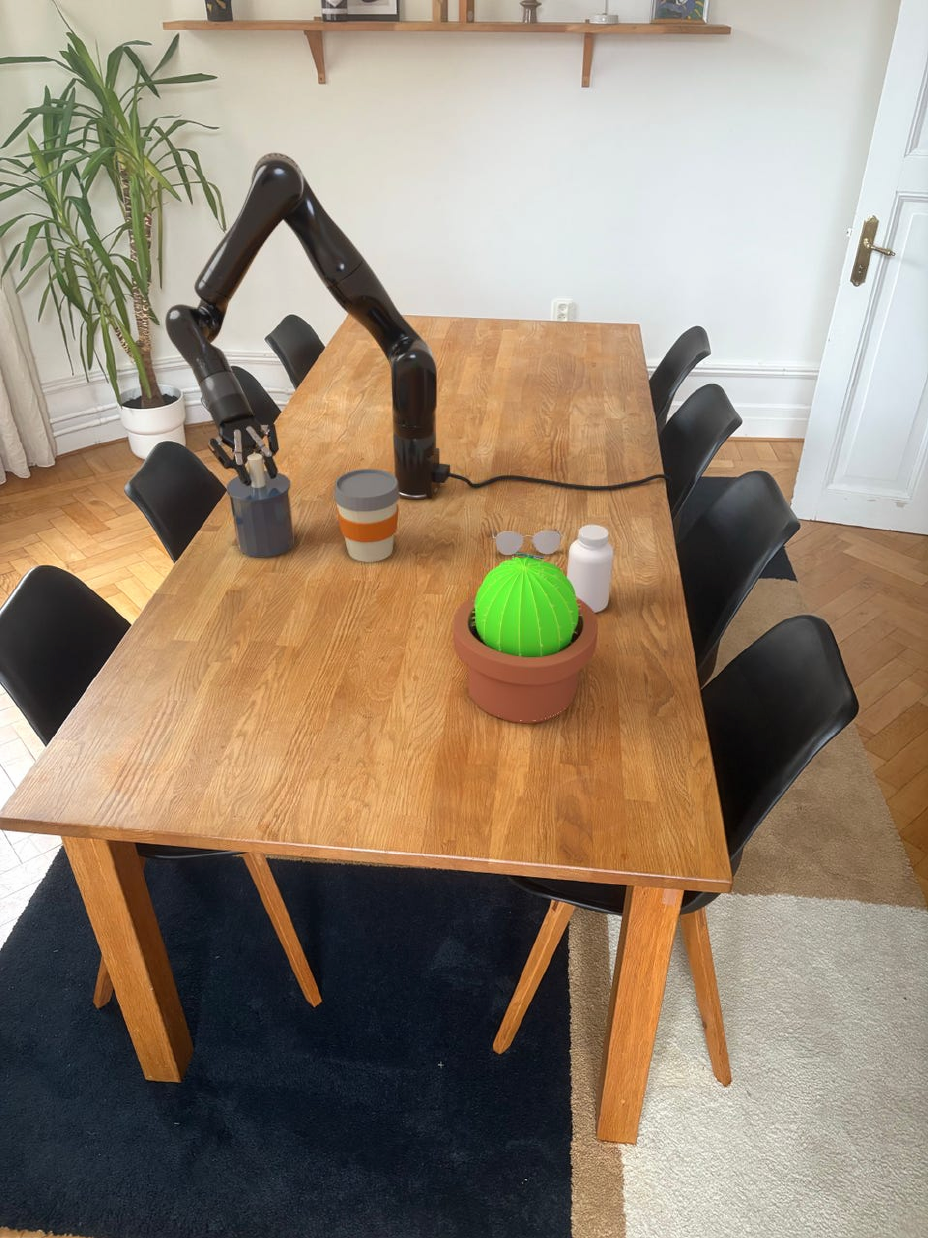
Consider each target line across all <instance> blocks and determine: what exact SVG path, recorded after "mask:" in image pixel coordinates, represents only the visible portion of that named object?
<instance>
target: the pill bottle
mask: <svg viewBox="0 0 928 1238" xmlns="http://www.w3.org/2000/svg"><path fill="white" fill-rule="evenodd" d="M609 538H610V533H609V530H608V529H607V528H606V527H604V526H602V525H598V524H586V525H583V526H582V527H580V528H579V530H578V536H577V539H576V540H574V541H573V542H572V543H571V545H570V547H569V550H568V558H567V559H568V560H567V573H566V577H567V578H568V579H569V581H570V580H571V581H570V582H571V584H572V586H573V588H574V590H575V589H576V590H575V594H576V597H577V598H579V599H581V600H582V601H583V602H585V603H586V604H587V605H588V606H589V607H590V608H591V609H592V610H593V612H594V613H595V614H596V613H599V612H602V611H603V610H605V609H606V608H607V606H608V604H609V600H610V592H611V584H612V574H613V566H614V557H615V556H614V555H615V552H614V548H613V546H612V545H611V544H610V543H609ZM572 579H573V580H574V581H573V580H572ZM572 582H573V583H572Z"/></svg>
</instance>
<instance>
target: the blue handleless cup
mask: <svg viewBox="0 0 928 1238" xmlns="http://www.w3.org/2000/svg"><path fill="white" fill-rule="evenodd" d="M229 500H230V505H231V513H232V519H233V524H234V525H233V526H234V531H235V539H236V544H237V547H238V549H239V551H240V553H242V554H243V555H245V556H248V557H251V558H259V559H263V558H264V559H265V558H272V557H277V556H280V555H283V554H285V553H287V552H288V551H290V550H291V549H292V548H293V547H294V545H295V531H294V522H293V515H292V514H293V513H292V505H291V495H290V490H289V491H288V492H287V493H286V494H284V495H283V496H281V497H279V498H276V499H273V500H270V501H265V502H243V501H239V500H236V499H234V498H232V497H230V496H229Z"/></svg>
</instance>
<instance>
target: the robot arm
mask: <svg viewBox="0 0 928 1238" xmlns="http://www.w3.org/2000/svg"><path fill="white" fill-rule="evenodd" d="M250 182H251V183H250V187H249V189H248V192H247V194H246V197H245V200H244V203H243V204H242V207H241V209H240V211H239V212H238V215H237V217H236V219H235V221H234V222H233V224H232V226H231V227H230V228H229V230H228V231H227V233H226V234H225V236H223V238H222V239H221V240H220V242H219V243H218V244H217V246H216V248H215V249H214V250H213V251H212V253H211V255H210V256H209V258H208V260H207V261H206V263H205V265H204V266H203V268H202V270H201V271H200V273H199V275H198V277H197V278H196V280H195V283H194V285H193V286H194V287H193V289H194V292H195V294H196V295H197V296H198V298H200V300H199V304H198V305H197V307H196V306H193V305H192V306H191V305H188V304H183V303H182V304H181V303H180V304H175V305H173V306H171V307H170V308H169V309H168V310H167V312H166V314H165V317H164V318H165V319H164V324H165V331H166V334H167V335H168V337H169V340H170V341H171V343H172V344H173V346H174V347H175V349H176V350H177V352H178V353H179V354H180V355H181V357H182V359H184V361H185V362H186V363H187V364H188V366H189V367H190V368H191V370H192V373H193V375H194V377H195V380H196V382H197V384H198V386H199V389H200V392H201V395H202V398H203V401H204V404H205V407H206V408H207V410H208V412H209V414H210V417H211V419H212V420H213V421H212V422H213V423H214V425H215V428H216V430H217V431H218V436H217V437H215V438H214V437H212V438H210V439H209V441H208V444H207V448H208V449H209V451H210V453H212V455H213V456H214V457H215V459H216V460H217V461H218V463H220V465H221V466H222V467H223V469H225V470H229V469H232V470H235V471H236V474H237V476H239V478H240V481H241V482H242V484H245V485H246V486H250V485H251V483H252V480H251V478H250V476H249V470H248V469H247V467H246V465H245V464H243V452H244V451H246V450H252V451H254V454H261V455H262V458H263V466H264V468H266V471H268V474H269V476H270V478H271V479H274V478H275V477H276V476H277V473H279V468H278V467H277V464H276V462H275V460H274V458H273V457H276V455H277V453H278V452H279V450H280V447H279V442H278V434H277V430H276V428H277V427H276V424H275V423H273V422H270V423H268V424H261V423H260V422H259V421H257V419H256V417H255V414H254V412H253V410H252V407H251V405H250V403H249V401H248V398H247V396H246V395H245V393H244V390H243V388H242V386H241V384H240V382H239V380H238V378H237V377H236V375H235V373H234V371H233V369H232V367H231V365H230V362H229V360H228V358H227V357H226V354H225V353H224V352H223V350H222V349H221V348H219V347H218V346H215V345H213V344H212V343H213V342H214V341H215V340H216V339H217V338H218V336H219V335H220V332H221V331H222V328H223V324H224V321H225V317H226V314H227V311H228V306H229V304H230V301H231V300H232V298H233V297H234V295H235V293H236V292H237V291H238V289H239V287H240V285H241V284H242V282H243V281H244V279H245V277H246V276H247V274H248V271H249V270H250V268H251V266H252V265H253V263H254V261H255V259H256V258H257V256H258V254H259V252H260V251H261V249H262V247H263V246H264V244H265V243H266V242H267V240H268V238H269V237H270V236H271V235H272V233H273V232H274V231H275V229H276V228H278V226H279V225H280V224H281V223H282V221H284V222H285V224H286V226H288V227H289V228H290V231H292V233H293V234H294V235H295V237H296V238H297V240H298V242H299V243H300V245H301V247H302V249H303V251H304V252H305V255H306V257H307V259H308V261H309V262H310V264H311V266H312V268H313V270H314V271H315V273H316V274H317V276H318V278H319V279H320V281H321V282H322V284H323V285H324V286H325V288H326V289H327V290H328V292H329V294H330V295H331V296H332V297H333V298H334V300H335V301H336V303H337V304H338V305H339V306H340V307H341V308H342V309H343V310H344V311H345V312H346V313H347V314H348V315H349V316H350V317H351V318H352V319H354V320H355V321H356V322H357V323H358V324H360V325H361V326H362V327H363V328H364V329H365V330H366V331H367V332H368V333H369V335H370V336H372V338H373V339H374V340H375V342H376V344H377V346H378V347H379V348H380V350H381V351H382V353H383V355H384V356H385V358H386V360H387V361H388V363H389V367H390V379H391V400H392V401H391V416H392V417H391V419H392V441H393V467H394V476H395V477H396V479H397V481H398V488H399V497H401V498H404V499H407V500H424V499H430V500H431V499H433V497H434V496H435V495H436V493H437V492H438V490H439V489H440V488H441V484H445V483H446V482H447V481H448V479H449V478H451V479H456V480H460V481H461V482H464V483H466V484H467V485H468V486H469V487H470V488H475V489H478V488H482V487H484V486H487V485H490V484H492V483H494V482H497V481H501V480H518V481H519V480H521V481H527V482H533V483H539V484H545V485H552V486H555V487H564V488H568V489H569V488H570V489H578V490H579V489H580V490H588V491H589V490H592V491H605V490H606V491H607V490H608V491H609V490H617V489H623V488H627V487H630V486H631V487H632V486H636V485H642V484H644V483H648V482H650V481H653V480H656V479H664V480H666V481H667V482H672V481H673V479H672V478H671V477H670V476H669V475H668V474H664V473H658V474H653V475H650V476H648V477H645V478H642V479H638V480H633V481H628V482H624V483H623V482H622V483H618V484H611V485H585V484H575V483H568V482H561V481H555V480H551V479H545V478H544V479H543V478H537V477H529V476H523V475H517V474H516V475H515V474H505V475H498V476H494V477H492V478H489V479H488V480H485V481H483V482H480V483H479V482H478V483H473V482H472V481H471V480H470V479H469V478H467V477H466V476H463V475H460V474H456V473H452V472H451V465H450V464H447V463H440V461H441V460H440V459H441V458H440V448H439V447H437V406H438V374H437V373H438V371H437V364H436V360H435V357H434V353H433V350H432V349H431V348H430V345H429V344H428V343H427V342H426V341H425V340H424V339H423V338H422V337H421V335H420V334H418V332H417V331H416V330H415V329H414V328H413V327H412V326H411V324H409V322H408V321H407V320H406V319H405V318H404V316H403V315H402V314H401V313H400V311H399V310H398V307H396V305H395V304H394V301H393V300H392V298H391V296H390V294H389V293H388V291H387V290H386V288H385V287H384V285H383V283H382V282H381V280H380V279H379V277H378V275H376V274H377V273H375V271H374V270H373V268H372V267H371V266H370V264H369V262H368V261H367V260H366V259H365V257H364V256H363V254H362V253H361V251H359V249H358V248H357V247H356V246H355V245H354V243H353V241H352V240H350V238H349V237H348V236H347V235H346V234H345V232H344V231H343V230H342V229H341V227H339V225H338V224H337V223H336V222H335V220H333V218H332V217H331V216H330V215H329V213H328V212H327V211H326V210H325V208H324V207H323V205H322V203H321V202H320V200H319V199H318V197H317V196H316V194H315V192H314V191H313V189H312V188H311V185H310V184H309V182H308V180H307V179H306V177H305V175H304V173H303V171H302V169H301V168H300V166H299V165H298V163H297V162H296V161H295V160H294V159H293V158H291V157H290V156H288V155H287V154H285V153H281V152H269V153H266V154H264V155H263V156H261V157H260V158H259V159H258V161H257V162H256V164H255V165H254V168H253V171H252V175H251V181H250ZM261 433H263V436H264V437H266V439H267V445H268V447H267V445H266V443H265V441H264V440H263V439H262V438H261V437H260V436H261ZM223 444H224V445H226V446H227V447H229V448H230V452H231V457H230V455H228V453H227V452H226V450H225V449H224V448H223Z"/></svg>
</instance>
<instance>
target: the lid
mask: <svg viewBox="0 0 928 1238" xmlns="http://www.w3.org/2000/svg"><path fill="white" fill-rule="evenodd" d="M246 458H247V465H248V473H249V476H250V478H251V480H252V483H251V485H250V486H246V485H245V484H242V482H241V481H240V478H239V476H238V475H237V476H235V477H233V478H232V479H230V480H229V481H228V483H227V484H226V494H228V496H229V498H230V497H232V498H234V499H236V500H239V501H243V502H265V501H270V500H273V499H276V498H279V497H281V496H283V495H284V494H286V493H287V492H288V491H289V492H290V489H291V480H290V478H289V477H288V476H286V475H285V474H283V473H281V472H278V473H277V476H276V477H275V478H274V479H271V478H270V476H269V474H268V471H267V470H265V465H264V460H263V458H262V455H261V454H257V453H251V454H249V455H247V457H246Z"/></svg>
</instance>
